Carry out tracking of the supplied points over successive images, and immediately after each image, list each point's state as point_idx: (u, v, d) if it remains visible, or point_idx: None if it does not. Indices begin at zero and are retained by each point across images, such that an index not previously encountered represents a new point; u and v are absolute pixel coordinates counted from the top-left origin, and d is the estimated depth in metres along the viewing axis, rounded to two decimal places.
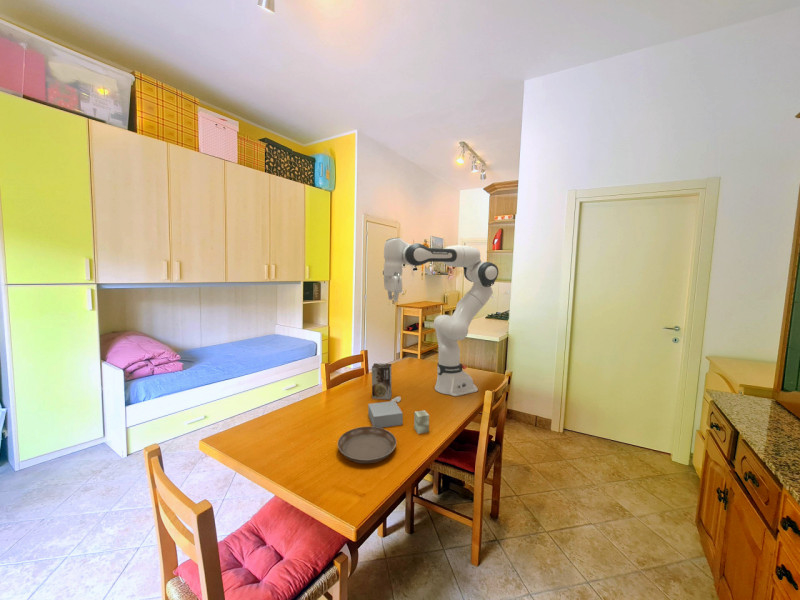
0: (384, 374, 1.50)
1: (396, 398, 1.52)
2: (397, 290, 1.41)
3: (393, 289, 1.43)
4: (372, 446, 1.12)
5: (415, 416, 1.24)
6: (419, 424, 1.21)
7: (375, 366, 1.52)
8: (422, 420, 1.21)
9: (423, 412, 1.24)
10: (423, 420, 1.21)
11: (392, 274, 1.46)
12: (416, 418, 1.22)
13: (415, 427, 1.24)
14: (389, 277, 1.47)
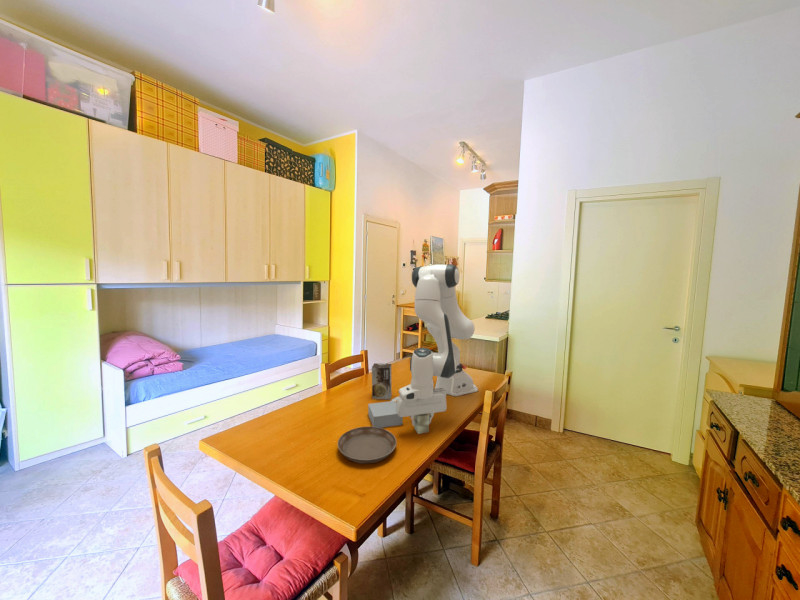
0: (384, 374, 1.50)
1: (396, 398, 1.52)
2: None
3: (441, 408, 1.23)
4: (372, 446, 1.12)
5: (415, 416, 1.24)
6: (419, 424, 1.21)
7: (375, 366, 1.52)
8: (422, 420, 1.21)
9: None
10: (423, 420, 1.21)
11: (433, 393, 1.22)
12: (416, 418, 1.22)
13: (415, 426, 1.24)
14: (428, 398, 1.21)
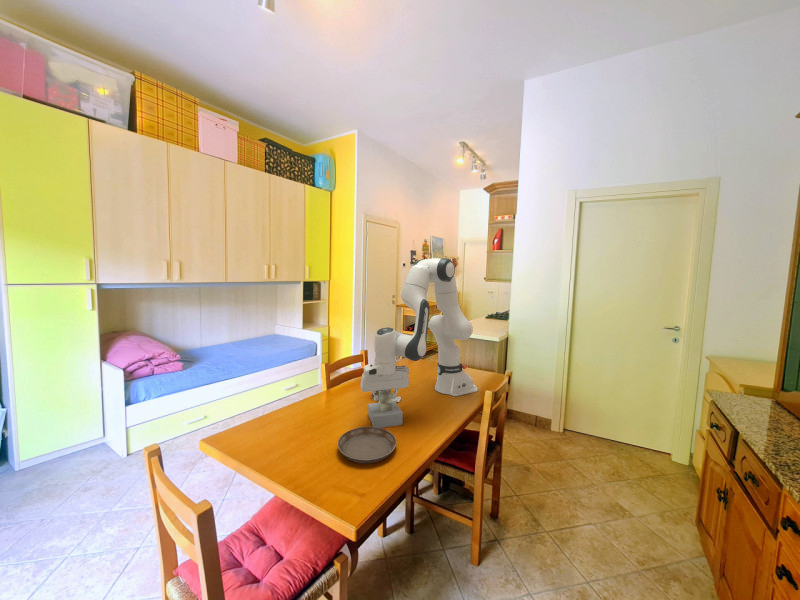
0: None
1: (396, 398, 1.52)
2: None
3: (403, 385, 1.31)
4: (372, 446, 1.12)
5: (379, 395, 1.31)
6: (382, 402, 1.28)
7: None
8: (385, 398, 1.29)
9: (386, 391, 1.31)
10: (386, 398, 1.29)
11: (395, 369, 1.29)
12: (380, 397, 1.30)
13: (379, 405, 1.32)
14: (391, 374, 1.28)
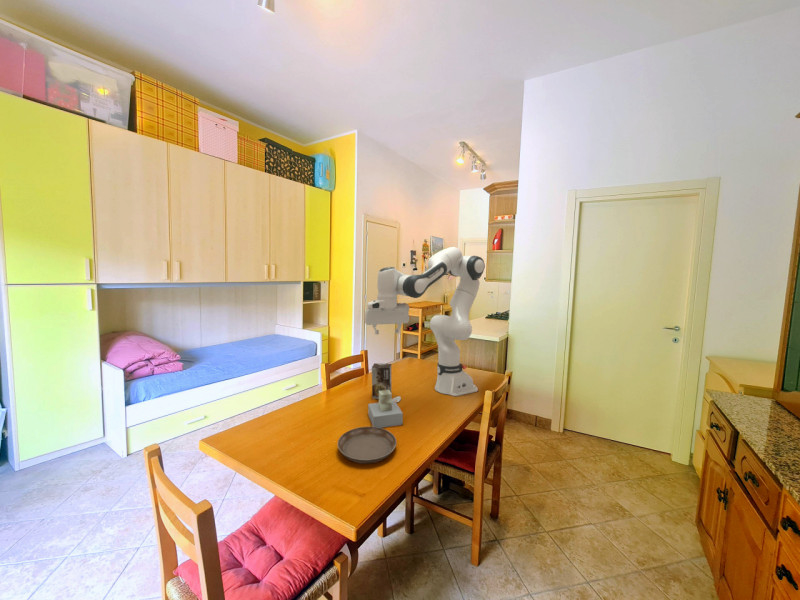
0: (384, 374, 1.50)
1: (396, 398, 1.52)
2: None
3: (404, 320, 1.42)
4: (372, 446, 1.12)
5: (379, 395, 1.31)
6: (382, 402, 1.28)
7: (375, 366, 1.52)
8: (385, 398, 1.29)
9: (386, 391, 1.31)
10: (386, 398, 1.29)
11: (396, 305, 1.40)
12: (380, 397, 1.30)
13: (379, 405, 1.32)
14: (392, 309, 1.39)
